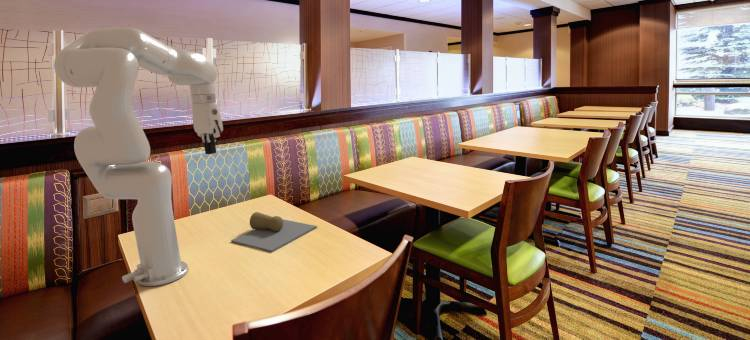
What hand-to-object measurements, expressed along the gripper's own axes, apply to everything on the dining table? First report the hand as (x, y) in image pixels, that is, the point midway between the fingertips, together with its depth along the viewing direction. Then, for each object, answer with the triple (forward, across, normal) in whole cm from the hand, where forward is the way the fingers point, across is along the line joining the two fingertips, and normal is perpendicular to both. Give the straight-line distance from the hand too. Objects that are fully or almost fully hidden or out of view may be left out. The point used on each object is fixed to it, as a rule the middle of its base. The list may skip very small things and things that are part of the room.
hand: (210, 153), depth 138 cm
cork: (+24, -14, -4) cm, 28 cm away
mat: (+27, -24, -3) cm, 36 cm away
